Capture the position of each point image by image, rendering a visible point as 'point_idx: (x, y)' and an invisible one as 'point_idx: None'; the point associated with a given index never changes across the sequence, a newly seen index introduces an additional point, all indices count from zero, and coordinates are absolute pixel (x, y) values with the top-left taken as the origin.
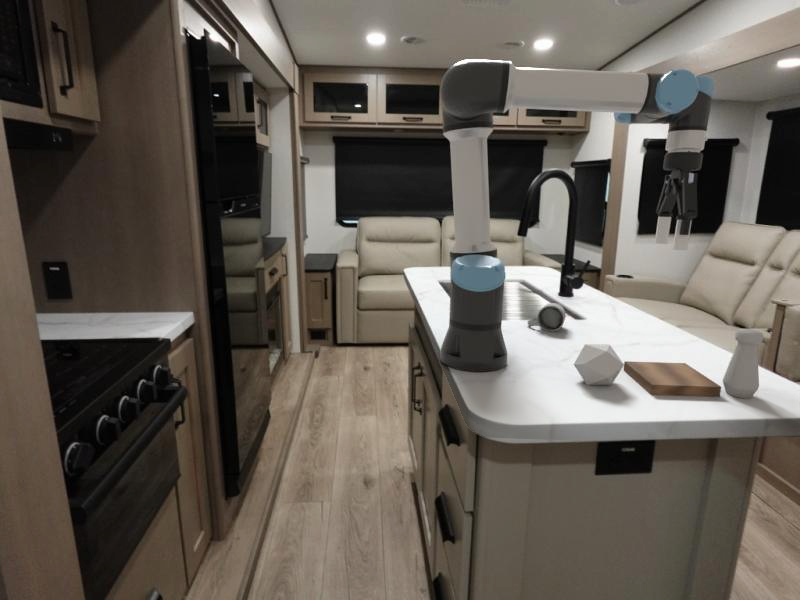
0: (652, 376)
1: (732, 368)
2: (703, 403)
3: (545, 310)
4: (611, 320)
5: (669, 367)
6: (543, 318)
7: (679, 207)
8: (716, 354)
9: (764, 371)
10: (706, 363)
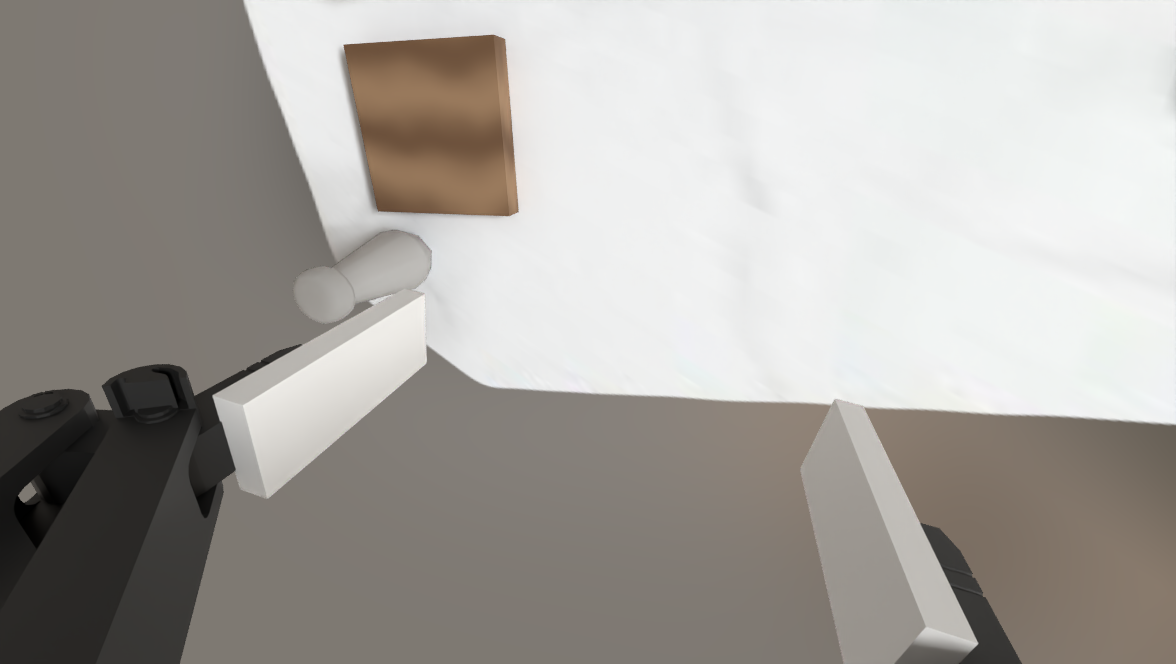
0: (397, 72)
1: (368, 244)
2: (350, 152)
3: None
4: (1113, 240)
5: (470, 155)
6: None
7: (93, 512)
8: (655, 369)
9: (548, 390)
10: (585, 303)
